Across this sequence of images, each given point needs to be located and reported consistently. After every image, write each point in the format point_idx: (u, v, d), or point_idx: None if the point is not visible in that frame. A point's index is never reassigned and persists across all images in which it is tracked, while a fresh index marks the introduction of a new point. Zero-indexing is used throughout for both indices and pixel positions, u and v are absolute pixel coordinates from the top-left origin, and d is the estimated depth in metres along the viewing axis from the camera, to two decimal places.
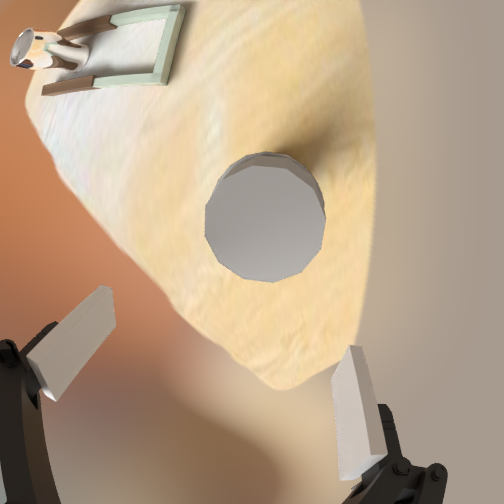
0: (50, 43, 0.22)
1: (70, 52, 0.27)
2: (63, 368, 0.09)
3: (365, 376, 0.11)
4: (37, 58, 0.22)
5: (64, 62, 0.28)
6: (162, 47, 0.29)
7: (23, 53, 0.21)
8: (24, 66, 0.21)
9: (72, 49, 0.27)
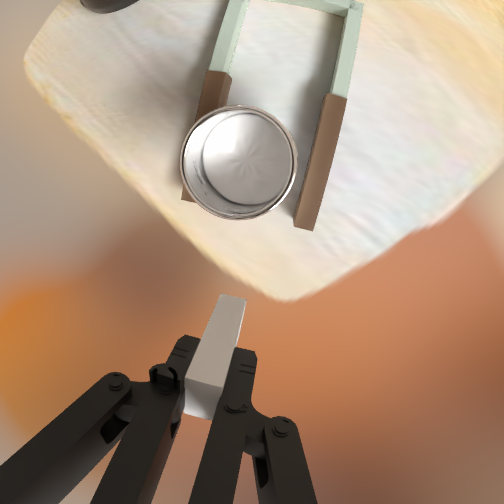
0: None
1: None
2: None
3: (235, 321, 0.13)
4: None
5: None
6: None
7: (234, 206, 0.18)
8: None
9: None
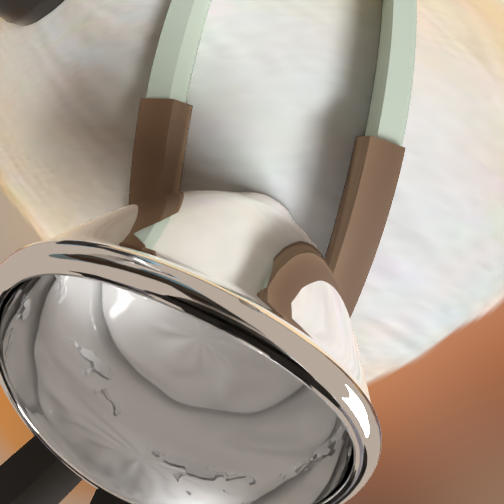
0: (216, 192, 0.06)
1: None
2: None
3: None
4: (333, 282, 0.05)
5: None
6: None
7: (184, 433, 0.07)
8: None
9: None
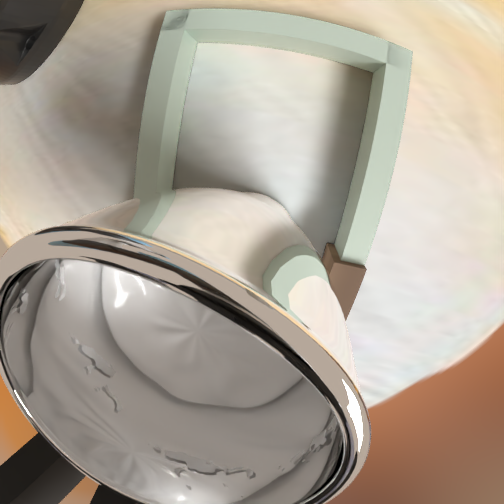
0: (208, 188, 0.06)
1: None
2: None
3: None
4: (322, 269, 0.05)
5: None
6: (309, 30, 0.10)
7: (186, 429, 0.07)
8: None
9: None
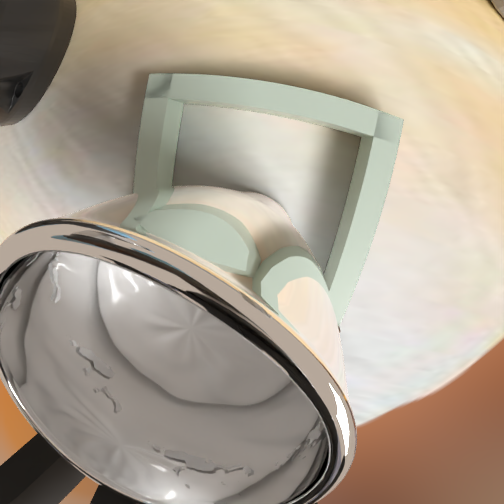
0: (192, 185, 0.06)
1: None
2: None
3: None
4: (306, 257, 0.05)
5: None
6: (295, 102, 0.12)
7: (185, 428, 0.07)
8: None
9: None
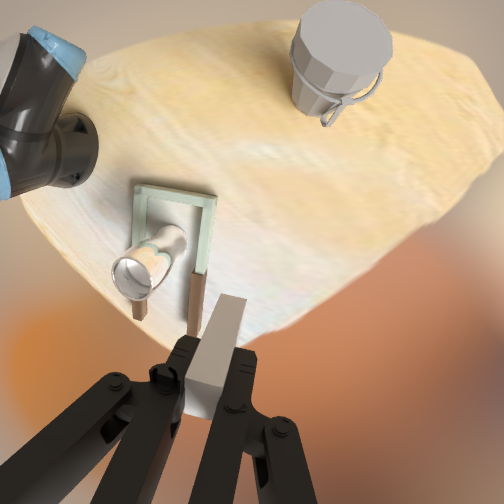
0: (141, 244, 0.36)
1: (161, 236, 0.42)
2: None
3: (235, 321, 0.13)
4: (154, 256, 0.35)
5: (171, 243, 0.42)
6: (178, 198, 0.41)
7: (143, 289, 0.37)
8: (158, 275, 0.35)
9: (157, 235, 0.42)
